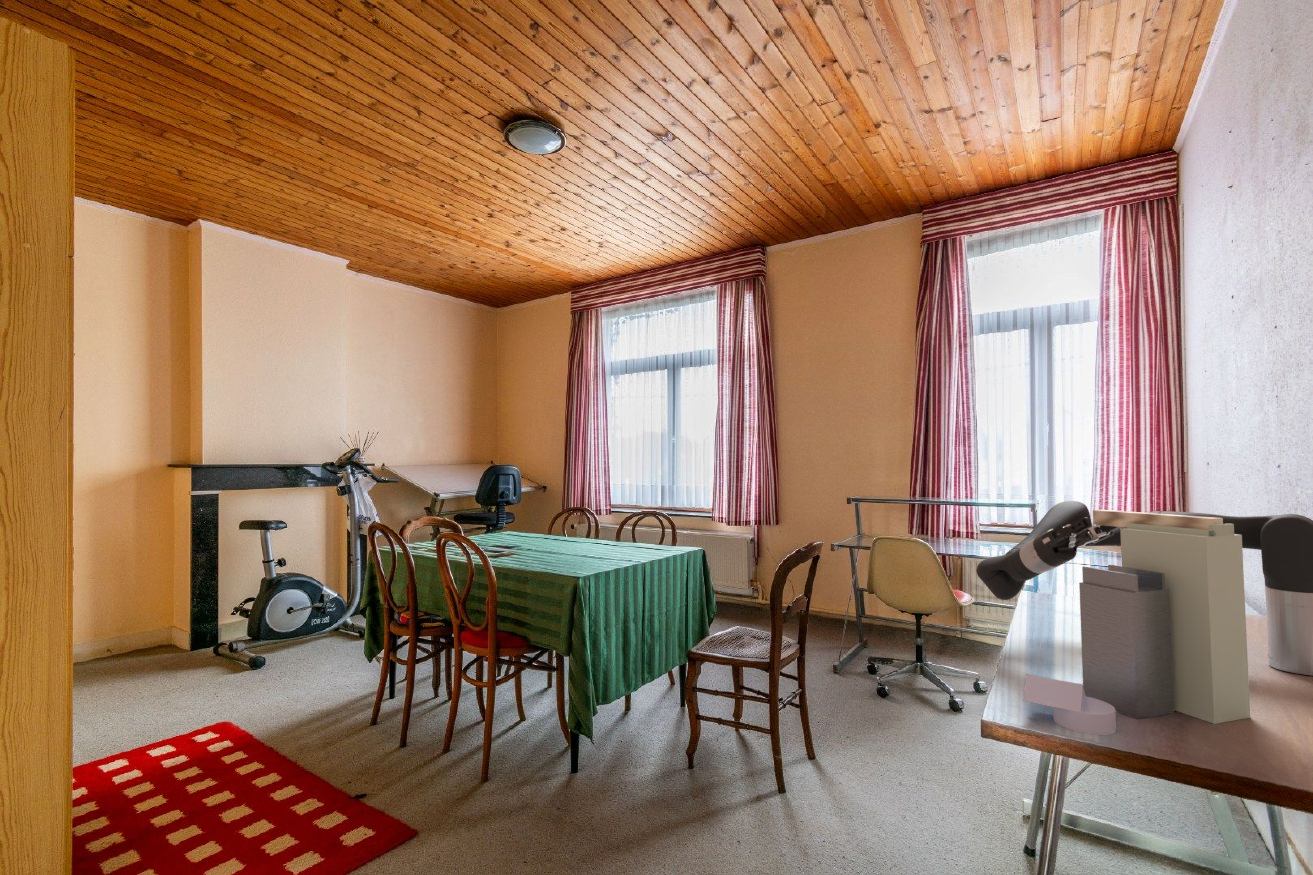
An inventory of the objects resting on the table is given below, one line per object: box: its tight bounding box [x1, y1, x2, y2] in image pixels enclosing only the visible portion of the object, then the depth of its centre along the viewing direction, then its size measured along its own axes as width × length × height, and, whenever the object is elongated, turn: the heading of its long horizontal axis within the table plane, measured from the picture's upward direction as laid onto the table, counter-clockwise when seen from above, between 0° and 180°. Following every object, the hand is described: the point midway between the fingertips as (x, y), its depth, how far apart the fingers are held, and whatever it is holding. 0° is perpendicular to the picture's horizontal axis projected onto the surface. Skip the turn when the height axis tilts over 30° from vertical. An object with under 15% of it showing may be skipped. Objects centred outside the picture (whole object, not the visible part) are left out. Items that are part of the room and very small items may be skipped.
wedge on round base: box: [1022, 674, 1117, 736], centre depth 110 cm, size 9×7×13 cm
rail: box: [1092, 509, 1223, 530], centre depth 122 cm, size 22×3×3 cm, turn 17°
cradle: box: [1078, 564, 1175, 720], centre depth 117 cm, size 10×9×25 cm
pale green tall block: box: [1120, 523, 1251, 725], centre depth 117 cm, size 15×9×34 cm, turn 17°
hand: (1104, 520), depth 131 cm, fingers open, 8 cm apart
